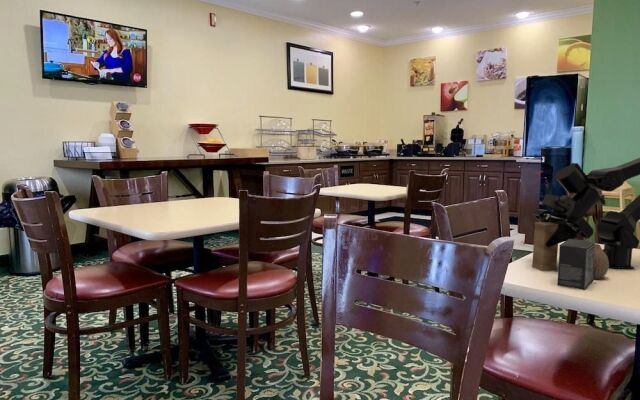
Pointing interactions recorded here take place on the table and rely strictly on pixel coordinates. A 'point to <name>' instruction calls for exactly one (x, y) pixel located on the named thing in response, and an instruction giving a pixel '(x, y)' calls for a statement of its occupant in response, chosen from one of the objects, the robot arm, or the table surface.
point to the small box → (576, 263)
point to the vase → (600, 263)
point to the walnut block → (544, 247)
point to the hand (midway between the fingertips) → (541, 244)
